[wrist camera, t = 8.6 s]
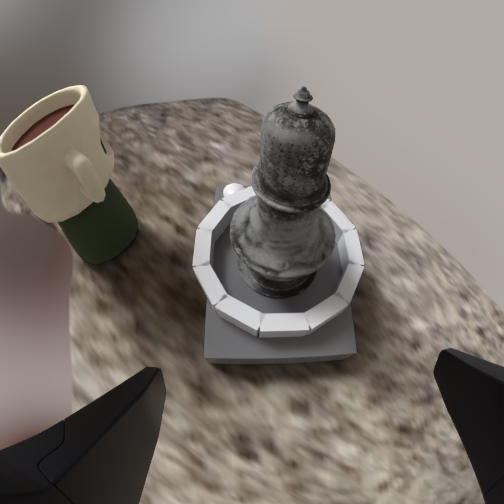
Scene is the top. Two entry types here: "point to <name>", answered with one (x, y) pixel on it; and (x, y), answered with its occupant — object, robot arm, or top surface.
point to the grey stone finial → (287, 202)
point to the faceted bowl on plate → (274, 309)
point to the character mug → (69, 173)
